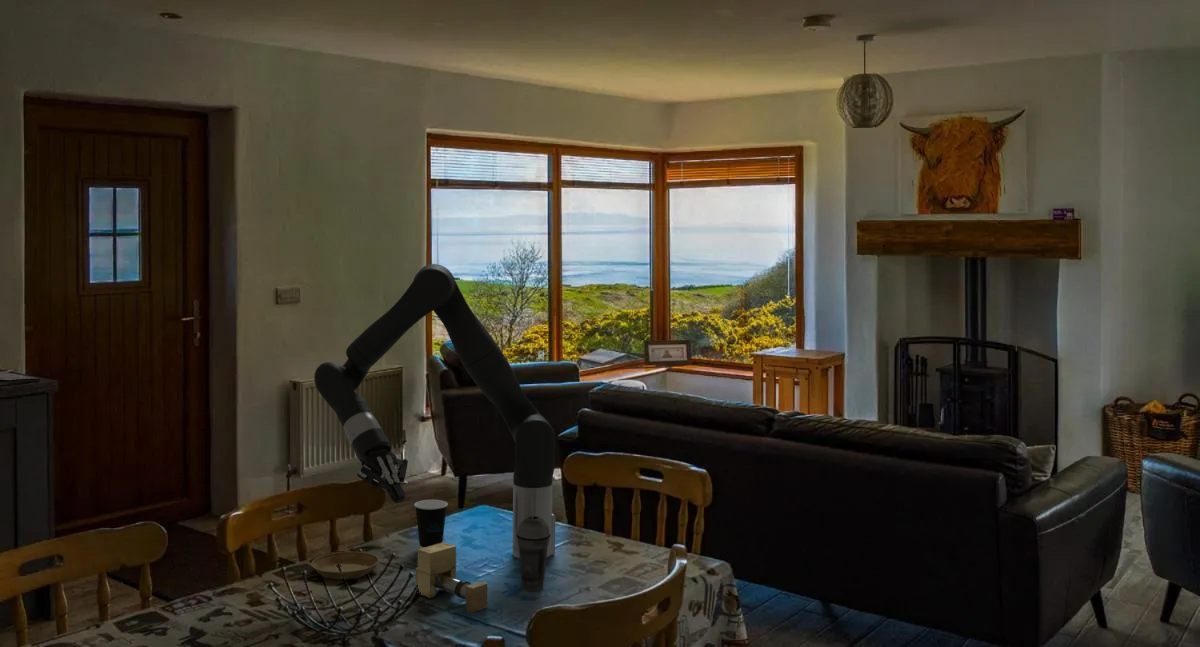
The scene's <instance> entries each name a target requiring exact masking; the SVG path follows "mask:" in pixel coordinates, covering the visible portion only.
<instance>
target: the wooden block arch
mask: <svg viewBox="0 0 1200 647" xmlns="http://www.w3.org/2000/svg"><path fill="white" fill-rule="evenodd" d="M417 568H418V589H419V591H420V592H421V594H420V595H421V596H423V597H425V598H429V599H431V598H434V597H435V596H436V589H435V574H438V573H440V574H443V575H446V576H449V577H452V578H454V579H456V578H457V577H456V576H457V574H456V573H457V546H456V545H454V544H449V543H447V542H442V543H439V544H435V545H432V546H428V547H424V548H421V547H420V548H417Z"/></svg>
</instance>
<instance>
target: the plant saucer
mask: <svg viewBox="0 0 1200 647" xmlns="http://www.w3.org/2000/svg"><path fill="white" fill-rule="evenodd" d="M379 562H380V559H379V557H378V556H377V555H374V554H372V553H369V552H365V551H364V552H362V551H338V552H333V553H328V554H322V555H321V556H318V557H316V558H315V559H313V560H312V561H311V564H310V565H311V568H313V569H314V571H316V572H317V573H318V574H319V575H320V576H321V577H323V578H326V579H329V580H330V579H331V580H338V581H339V580H341V579H342V578H341V574H342V576H343V577H344V578H345V579H344V580H352V579H353V580H354V579H358V578H361V577H365V576H367V575H368V574H370V573H371V572H372V570H375V569H374V568H376V567H377V565H378V564H379ZM335 564H342V565H343V566H342V569H343V572H338V569H336V568H335V569H334V571H333V570H331V569H330V567H329V568H328V566H331V565H335ZM362 564H363V565H362ZM326 568H327V569H328V570H327V569H326ZM366 574H367V575H366Z"/></svg>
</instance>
